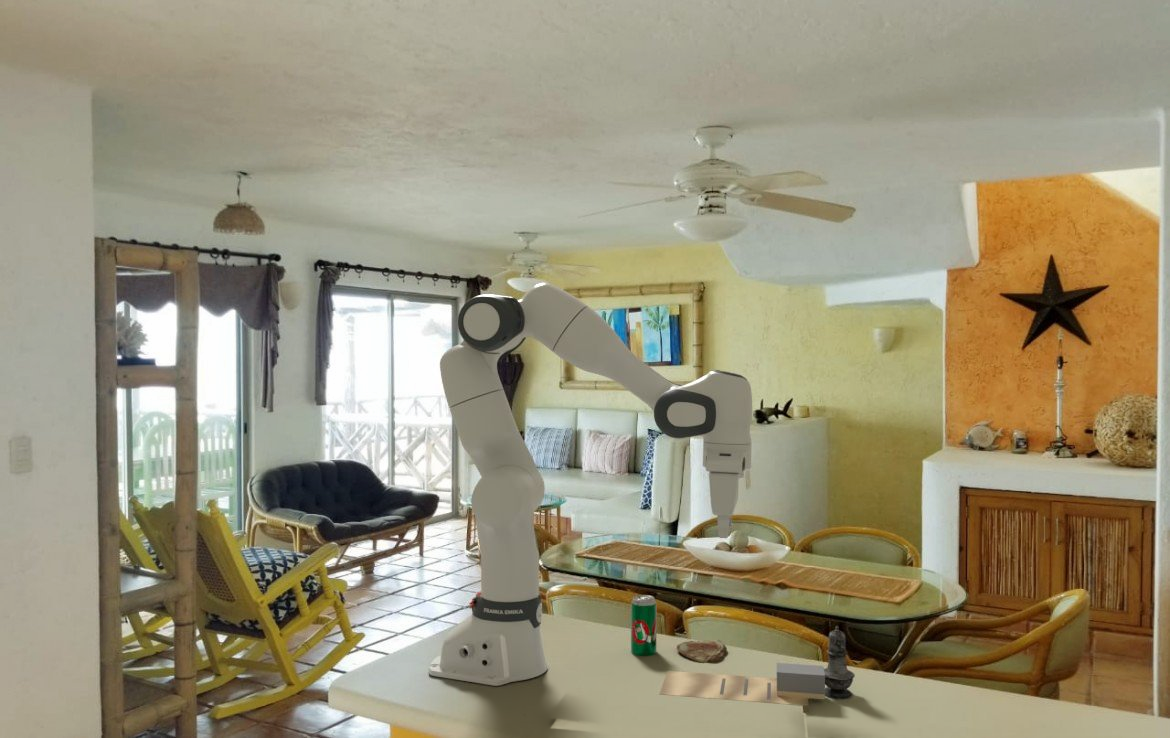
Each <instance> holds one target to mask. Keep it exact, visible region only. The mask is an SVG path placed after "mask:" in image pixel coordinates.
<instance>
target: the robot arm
mask: <svg viewBox="0 0 1170 738" xmlns="http://www.w3.org/2000/svg"><path fill="white" fill-rule="evenodd" d="M457 317H458V318H457V329H458V332H459V334H460V337H461V338H462V339H463V340H462V341H461V342H460V343H459V344H456V345H454V346H452V347H450V348H449V349H448V350H446V351H445V352H444V353H443V355H441V358H440V361H439V371H440V378H441V383H442V387H443V391H444V396H445V399H446V402H447V404H448V409H449V411H450V413H451V417H452V419H453V423H454V426H455V428H456V431H457V434H458V437H459V441H460V442H461V445H462V447H463V449H464V451H466V453H467V454H468V455H469V457H470V458H471V460H472V462H473V464H474V465H475V468H476V469H477V471H478V473H479V476H481V478H480V479H479V480H478V481H477V483H476V485H475V486H474V489H473V492H472V494H471V499H470V501H471V503H470V505H471V510H472V512H473V514H474V516H475V517H474V518H475V525H476V531H477V536H478V543H479V550H480V561H481V562H480V569H481V570H480V571H481V572H480V573H481V574H480V577H481V579H480V582H481V583H480V584H481V585H480V588H481V590H480V591H478V592H477V593H476V594H475V597H473V598H472V599H471V601H470V602H468V603H469V607H468V609H470V610H471V612H472V613H471V614H470V615H469V616H467V617H466V618H465V619H464V620H463V621H461V622H460V623H459V624H457V625H456V626H455V627H454V628H453V629H452V630H450V631H449V632H448V634H446V636H445V637H444V639H443V643H442V647H441V653H440V654H439V655H438V656H436V657H435V658H434V659H432V661H431V662H430V663H429V665H428V666H429V667H428V674H429V675H430V676H433V677H439V678H443V679H450V680H457V681H461V682H462V681H465V682H469V683H470V682H471V683H477V684H482V685H488V686H492V687H493V686H495V687H497V686H502V685H503V686H504V685H505V684H509V683H512V682H520V681H524V680H525V681H526V680H529V679H533V678H535V677H538V676H541V675H543V674H544V673H545V672H546V671H547V670H548V669H549V668H548V662H547V660H546V656H545V652H544V648H543V646H544V645H543V639H542V631H541V624H542V618H543V604H542V594H541V593H540V564H539V563H540V554H539V550H538V547H537V541H536V533H535V526H534V512H535V511H536V510H537V509H539V507H540V506H541V504H542V503H543V500H544V497H545V489H546V488H545V481H544V478H543V476H542V475H541V473H540V471H539V469H538V467H537V464H536V462H535V461H534V458H533V455H532V454H531V451H530V449H529V448H528V446H527V444H526V442H525V440H524V439H523V436H522V435H521V432H520V431H519V428H518V426H517V424H516V420H515V418H514V415H513V412H512V409H511V406H510V403H509V401H508V398H507V395H506V392H505V390H504V387H503V384H502V382H501V379H500V375H499V373H498V362H501V361H503V360H504V359H505V358H506V357H508V356H509V355H511V353H512V352H514V351H516V350H517V349H518V348H519V347H520V346H522V344H523V343H524V341H526V338H530V339H534V340H536V341H538V342H539V343H541V344H542V345H543V346H545V347H547V348H548V350H550V351H551V352H552V353H554V354H555V355H556V356H558V357H560V358H561V359H562V360H563V361H564V362H567V363H568V364H570V365H571V366H573V367H576V368H577V369H579V370H582V371H585V372H587V373H590V374H591V373H592V374H595V375H599V376H602V377H605V378H607V379H609V380H612V381H614V382H615V383H617V384H618V385H621V386H622V387H623V388H625V389H626V390H628V391H629V392H630V393H631V394H633V395H634V396H636V397H637V398H638V399H639V400H641V401H642V402H644V403H645V404H646V405H647V406H648V407H649V408H650V409H651V410H652V411H653V418H654V421H655V424H656V426H657V428H658V429H659V430H660V432H661V433H663V434H664V435H665V436H666V437H669V438H672V439H676V440H686V439H689V438H692V437H698V436H701V437H702V439H703V446H702V447H703V449H702V467H704V468H705V471H706V472H708V473H709V474H708V478H709V496H710V506H711V507H710V508H711V513H712V514H713V516H716V517H717V520H716V521H717V527H718V528H717V529H718V530H717V536H718V537H719V539H728V537H729V534H730V533H729V531H730V529H731V528H732V525H733V524H732V521H733V515H734V512H735V509H736V506H737V503H738V500H739V482H740V481H739V479H742V478H744V477H745V471H746V470H750V469H751V468H752V438H751V430H750V429H751V425H752V422H753V394H752V387H751V384H750V382H749V380H748V379H747V378H746V377H744V376H743V375H742V374H738V373H734V372H731V371H724V370H719V369H714V370H713V369H712V370H710V371H708V372H707V374H705V375H703V376H701V377H699V378H698V379H695V380H693V381H691V382H688V383H686V384H684V385H683V384H678V383H674V382H672V381H670V380H669V379H667V378H665V377H664V376H662V375H661V374H660V373H658V372H657V371H656V370H654V369H653V368H652V367H651V366H649V365H648V364H647V363H645V362H644V361H643V360H641V359H640V358H639V357H637V356H636V355H635V354H634V353H633V352H632V351H631V350H630V349H629V348H628V346H627V344H625V343H624V341H623V340H622V339H621V337H620V336H619V335H618V334H617V332H616V331H615V329H613V328H612V326H611V325H610V324H609V323H608V322H607V321H606V320H605V319H604V318H603V317H602V316H601V315H600V314H599V313H597V312H596V311H595V309H592V307H590V306H589V305H588V304H586V303H585V302H583V301H582V300H580V299H579V298H578V297H576V296H574V295H573V294H571V293H569V292H568V291H565V290H564V289H561V288H560V287H558V286H556V285H554V284H552V283H549V282H540V283H537V284H535V285H534V286H532V287H531V288H529V289H528V290H527V291H526V292H525V293H524V295H523V296H522V297H521V298H519V299H517V298H516V297H514V296H507V295H499V294H494V293H493V294H491V293H490V294H489V293H485V294H480V295H479V294H478V295H476V296H474V297H472V298H470V299H468V300H467V301H466V302H465V303H464V304H463V306H462V307H461V309H460V310H459V313H458V315H457Z"/></svg>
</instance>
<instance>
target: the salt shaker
mask: <svg viewBox="0 0 1170 738" xmlns="http://www.w3.org/2000/svg"><path fill="white" fill-rule="evenodd" d="M839 629H840V627H839V626H838V625H836V626H835V629H834V630H832V631H829V634H828V649H826V653H827V654H828V664H827V666H826V668H825V667H824V673H825V697H826V698H830V699H834V700H849V699H852V698H853V696H854V693H853V692H852V691H851V690H849V689H848V688H850V687H851V685H852V684H853V682H854V678H855V675H856V674H855V673H854V672H853V671H851V670H849V669H848V667H847V655H848V653H849V652H848V651H847V650H846V634H845V633H844V632H843V631H841V630H839Z"/></svg>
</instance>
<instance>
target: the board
mask: <svg viewBox="0 0 1170 738" xmlns="http://www.w3.org/2000/svg"><path fill="white" fill-rule="evenodd" d="M662 683H663V684H662V686H661V688H660V691H659V695H663V696H664V695H665V696H678V697H689V698H690V697H691V698H701V699H713V700H728V701H729V700H730V701H741V702H742V701H743V702H753V703H754V702H756V703H766V704H778V705H779V704H781V705H792V706H802V712H803V713H804V714H805V713H808V714H809V711H810V708H809V706H810V704H809V698H802V697H789V696H777V678H774V677H773V678H771V677H760V676H759V677H758V676H746V675H743V676H742V675H732V674H731V675H730V674H717V673H705V672H704V673H703V672H690V671H689V672H688V671H676V670H667V671H666V675H665V677H664V680H663V682H662Z"/></svg>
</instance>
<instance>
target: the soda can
mask: <svg viewBox="0 0 1170 738" xmlns="http://www.w3.org/2000/svg"><path fill="white" fill-rule="evenodd" d="M630 653H631V654H632V655H633V656H638V657H651V656H654V655H656V654H657V601H656V600H655V597H654V596H653V595H648V594H640V595H638V594H637V595H635V596H633V597H632V600H631V602H630Z"/></svg>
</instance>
